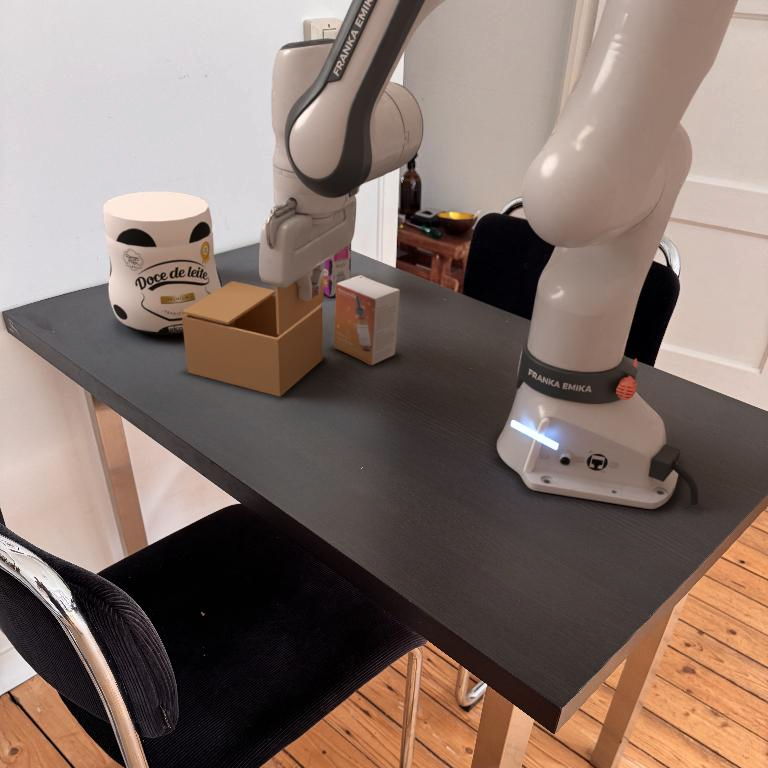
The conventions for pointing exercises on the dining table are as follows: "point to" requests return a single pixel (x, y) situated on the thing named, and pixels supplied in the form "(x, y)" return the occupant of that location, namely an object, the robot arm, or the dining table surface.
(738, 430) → the dining table surface
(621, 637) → the dining table surface
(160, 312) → the doce de leite jar
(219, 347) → the carton
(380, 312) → the small box
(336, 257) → the candy bar box
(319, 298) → the flap
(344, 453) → the dining table surface
